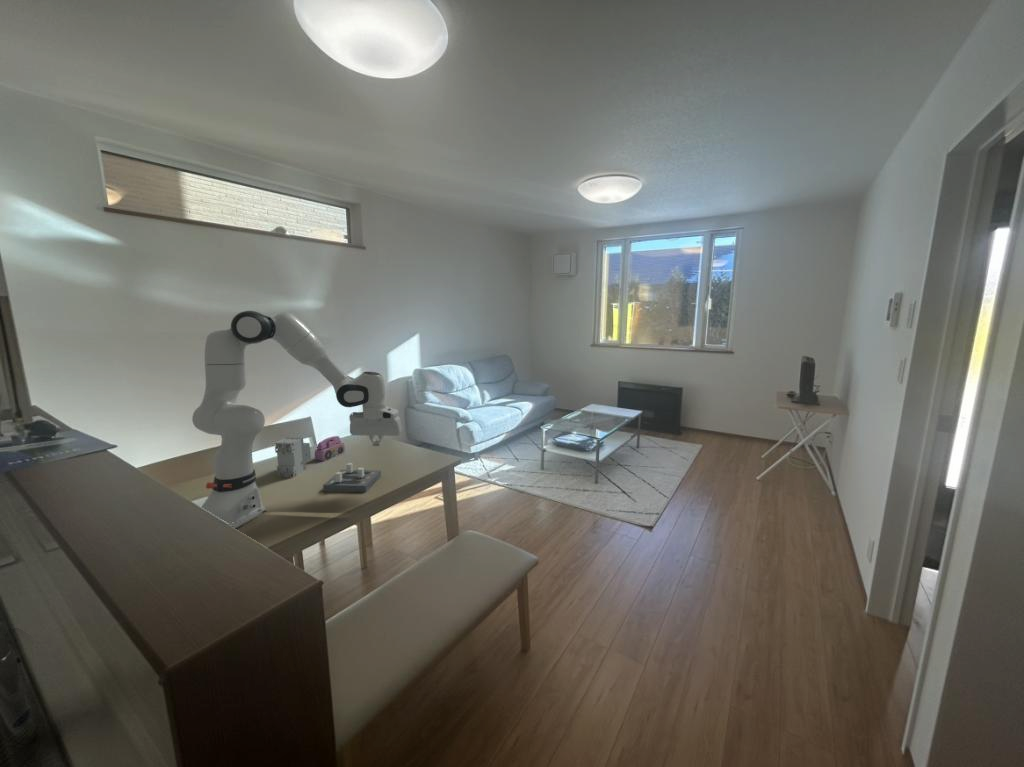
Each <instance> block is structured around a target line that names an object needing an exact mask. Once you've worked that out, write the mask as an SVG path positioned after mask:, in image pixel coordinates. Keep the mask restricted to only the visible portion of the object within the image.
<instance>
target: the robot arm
mask: <svg viewBox="0 0 1024 767" xmlns="http://www.w3.org/2000/svg"><path fill="white" fill-rule="evenodd" d="M269 339H270V340H273V341H275V342H277V343H278V344H279V345H280V346H281V347H282V348H283V349H284V350H285V351H286V352H287V353H288V354H289V355H290V356H291V357H293V358H294V359H295V360H296V361H297V362H299V363H300V364H302V365H306V366H309V367H311V368H313V369H315V370H316V371H318V372H319V373H320V374H321V375H322V376H323V377H324V379H325V380H327V381H328V383H330V384H331V386H332V387H333V389H334V393H335V397H336V400H337V402H338V404H340V406H343V407H345V408H354V407H357V406H358V407H359V406H362V411H353V412H352V413H350V414H349V418H348V419H349V422H350V423H349V434H350V435H351V436H366V437H367V436H368V438H369V440H370V441H371V443H372V447H381V446H382V440H383V438H384V436H385V437H390V436H391V437H392V436H393V437H398V436H400V435H401V434H402V431H403V425H402V421H401V420H402V419H401V417H400V416H399V410H398V409H396V408H393V407H390V406H387V403H386V399H385V398H386V384H385V379H384V376H383V375H382V374H381V373H379V372H375V371H363V372H362V373H361V374H359V375H358V376H357V377H355V378H354V377H351V376H349V375H347V374H345V373H344V371H343V370H342V369H341V368H340V367H339V366H337V365H336V363H335V362H334V361H333V360H332V359H331V357H330V356H329V354H328V353H327V351H326V348H325V347H324V345H323V344H322V342H321V341H320V339H319V338H318V336H316V334H315V333H314V332H313V331H312V330H311V329H310V327H309V326H307V325H306V323H304V322H303V321H302V320H301V319H300V318H298V317H297V316H295V315H294V314H293V313H291V312H288V311H287V312H280V313H279V314H276V315H274V316H273V317H270V316H267V315H265V314H263V313H261V312H259V311H255V310H245V311H241V312H238V313H237V314H235V316H234V317H233V318H232V319H231V322H230V328H229V329H221V330H215V331H212V332H209V334H208V335H207V337H206V340H205V344H204V370H205V371H204V372H205V391H204V395H203V398H202V401H201V403H200V405H199V406H198V407H197V408H196V409H195V410H194V412H193V415H192V418H191V420H192V425H194V428H196V429H197V430H199V431H201V432H204V433H206V434H209V435H216V436H220V438H221V444H220V446H219V449H217V450H216V451H215V452H214V454H213V465H214V466H213V467H214V472H215V474H214V475H215V476H214V477H213V482H206V485H205V488H206V489H212V491H211V492H210V494H209V495H208V497H207V499H206V500H205V501H204V503H203V504H202V505H201V507H202V508H204V509H205V510H207V511H209V512H211V513H212V514H214V515H215V516H217V517H219V518H220V519H222V520H224V521H226V522H227V523H229V524H230V525H232V526H233V527H234V528H235V529H237V528H239V527H241V526H242V525H244V524H246V523H248V522H250V521H251V520H253V519H254V518H257V517H259V516H260V515H262V514H264V513H265V512H266V507H265V506H263V505H264V504H263V501H262V497H261V492H260V489H259V487H258V486H257V482H256V480H257V474H256V470H255V469H254V463H253V460H254V459H253V445H254V441H255V439H256V438H257V436H258V435H259V434H260V433H261V432H262V430H263V429H264V427H265V423H266V422H265V421H266V419H265V416H264V414H263V412H262V411H261V410H259V409H258V408H255V407H252V406H250V405H245V404H237V399H238V396H239V393H240V391H242V390H243V389H245V387H246V383H247V380H246V379H247V378H246V365H245V364H246V362H245V351H246V350H245V349H246V347H247V346H248V345H252V344H253V345H254V344H260V343H262V342H265V341H266V340H269ZM375 436H376V437H377V438H378V440H376V439H375ZM232 522H235V523H234V524H232Z"/></svg>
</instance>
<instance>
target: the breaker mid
mask: <svg viewBox="0 0 1024 767" xmlns="http://www.w3.org/2000/svg"><path fill="white" fill-rule="evenodd" d="M357 470H358V478H363V477H364V470H365V467H358V468H357Z"/></svg>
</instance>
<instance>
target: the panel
mask: <svg viewBox="0 0 1024 767" xmlns="http://www.w3.org/2000/svg"><path fill="white" fill-rule="evenodd" d="M339 472H342V481H341V482H336V480H335V475H334V476H332V477H331V478H330V479H328V480H326V482H325V483H324V484H322V487H323V488H322V489H323V492H345V493H346V492H351V493H353V492H355V493H356V492H357V493H367V492H368V490H369V489H371V488H372V486H374V484H376V482H377V481H379V479H380V478H382V477H381V476H382V472H381V470H380V469H379V470H372V469H371V470H369V469H368V470H366V469H364V477H363V478H358V469H353V472H351V473H347V469H341V470H340V471H339Z"/></svg>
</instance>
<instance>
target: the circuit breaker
mask: <svg viewBox="0 0 1024 767" xmlns="http://www.w3.org/2000/svg"><path fill="white" fill-rule="evenodd" d="M274 444H275V446H274V451H275V454H276V456H277V464H278V465H277V466H276V470H277V471H276V472H277V474H278V475H277V476H278V477H282V478H283V477H284V478H295V477H297V476H299V475H300V474H301V473H303V472H304V471H306V469H307V468H306V463H307V462H308V461H309V460H312V459H311V458H312V456H311V449H312V448H311V445H310V444H311V443H310V442H304V437H291V436H290V437H289V436H288V437H287V436H286V437H284V438H282V439H280V440H278V441H276V442H274Z"/></svg>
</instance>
